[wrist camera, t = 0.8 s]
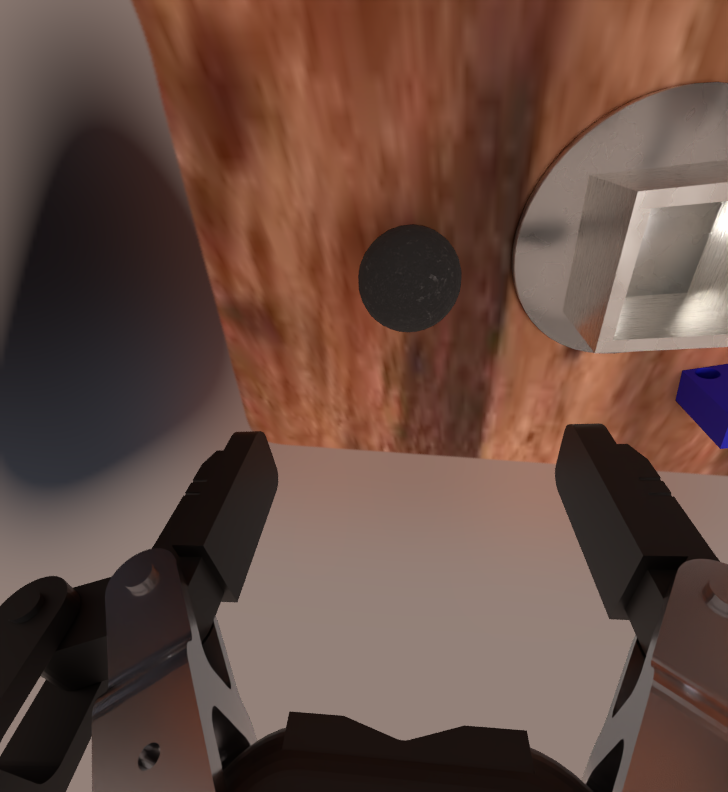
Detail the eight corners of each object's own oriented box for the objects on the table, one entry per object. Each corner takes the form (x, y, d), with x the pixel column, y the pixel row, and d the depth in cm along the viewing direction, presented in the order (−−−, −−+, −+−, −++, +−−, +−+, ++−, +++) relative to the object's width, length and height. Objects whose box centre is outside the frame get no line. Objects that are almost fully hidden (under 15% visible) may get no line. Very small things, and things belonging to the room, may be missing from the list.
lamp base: (527, 106, 22) (568, 103, 16) (858, 60, 20) (1039, 38, 14) (501, 352, 31) (521, 404, 25) (723, 341, 29) (800, 396, 23)
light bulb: (407, 180, 25) (406, 213, 17) (467, 241, 26) (492, 296, 18) (353, 249, 27) (329, 304, 19) (410, 299, 29) (410, 369, 21)
